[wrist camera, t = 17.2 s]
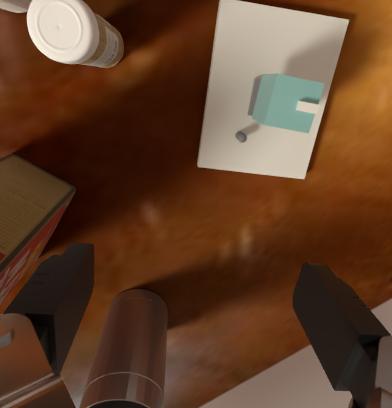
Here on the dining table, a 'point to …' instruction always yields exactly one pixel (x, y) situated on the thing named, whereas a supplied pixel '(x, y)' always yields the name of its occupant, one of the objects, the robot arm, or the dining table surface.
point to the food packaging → (26, 216)
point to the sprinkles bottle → (73, 33)
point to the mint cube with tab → (287, 102)
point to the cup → (15, 5)
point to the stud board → (250, 81)
